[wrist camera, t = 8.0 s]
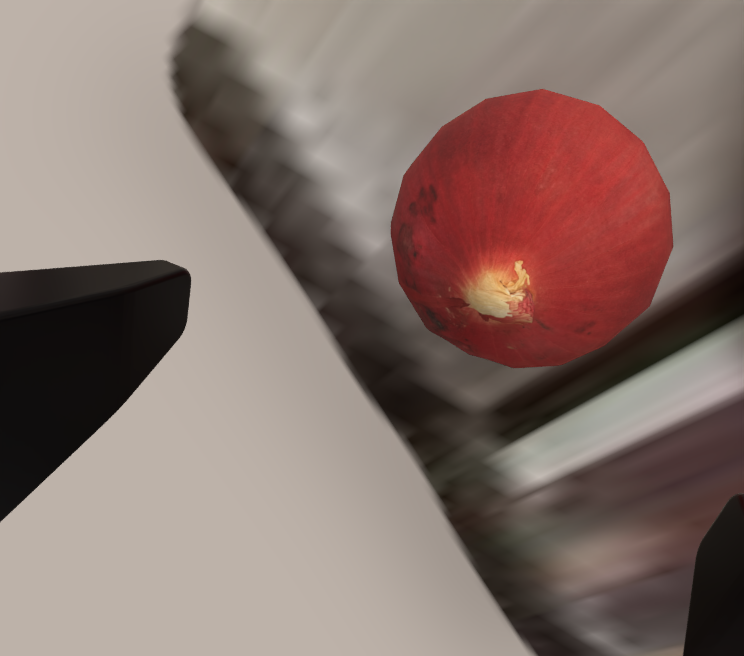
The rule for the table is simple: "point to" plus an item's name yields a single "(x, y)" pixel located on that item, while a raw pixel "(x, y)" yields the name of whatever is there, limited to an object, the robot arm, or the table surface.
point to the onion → (531, 229)
